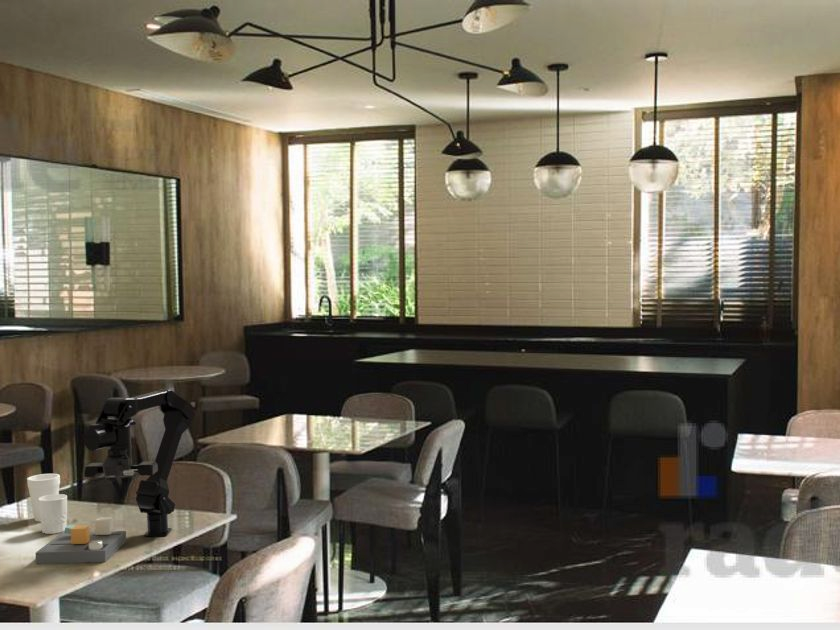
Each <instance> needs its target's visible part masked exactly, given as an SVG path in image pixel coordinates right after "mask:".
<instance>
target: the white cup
mask: <svg viewBox="0 0 840 630" xmlns="http://www.w3.org/2000/svg"><path fill="white" fill-rule="evenodd" d="M38 502H39V512H40V521H39V522H40V525H41V526H40V527H41V533H42V534H44V533H45V534H47V535H53V534H60V533H64V532H65V527H67V526H68V522H67V520H68V495H67V494H64V493H59V494H52V495H46V496H42V497H40V498H39V499H38Z"/></svg>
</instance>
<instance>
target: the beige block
mask: <svg viewBox="0 0 840 630" xmlns="http://www.w3.org/2000/svg"><path fill="white" fill-rule="evenodd" d="M113 531H114V517H112V516H110V517H109V516H108V517H107V516H106V517H103V516H102V517H97V518H96V519H95V520H94V532H95V535H110V534H111V533H112V532H113Z"/></svg>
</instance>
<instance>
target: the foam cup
mask: <svg viewBox="0 0 840 630" xmlns="http://www.w3.org/2000/svg"><path fill="white" fill-rule="evenodd" d="M26 480H27V488H28V492H29V498H30V503H31V507H32V514H33V518H34V521H36V522H41V521H40V512H39V502H38V499H39V498H40V497H42V496H46V495H52V494H60V484H61V476H60V474H58V473H42V474H35V475H31V476H29V477H27V478H26Z"/></svg>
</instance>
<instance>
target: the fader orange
mask: <svg viewBox="0 0 840 630" xmlns="http://www.w3.org/2000/svg"><path fill="white" fill-rule="evenodd" d="M90 528H91V527H90V525H75V526H74V527H73V528H71V529H70V531H71V544H86V543H87V542H89V541H90V532H91V529H90Z"/></svg>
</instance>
